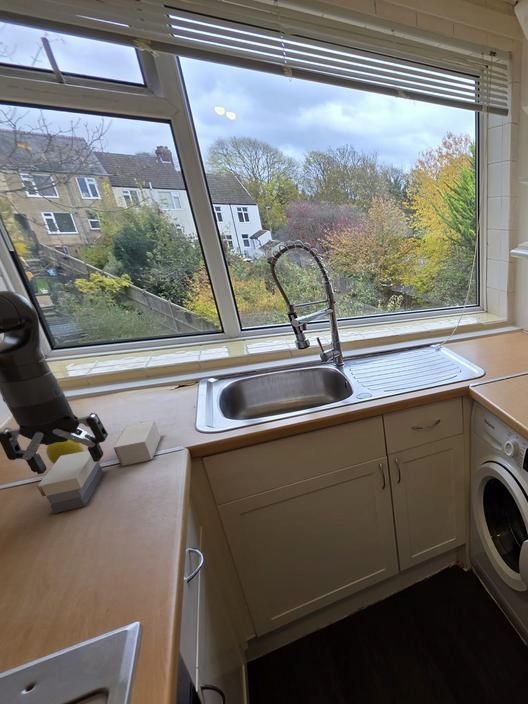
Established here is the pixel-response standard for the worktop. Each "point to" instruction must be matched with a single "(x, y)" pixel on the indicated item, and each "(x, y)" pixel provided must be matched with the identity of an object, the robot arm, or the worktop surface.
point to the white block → (137, 443)
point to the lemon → (62, 449)
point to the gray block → (76, 493)
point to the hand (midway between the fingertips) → (70, 465)
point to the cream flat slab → (67, 473)
